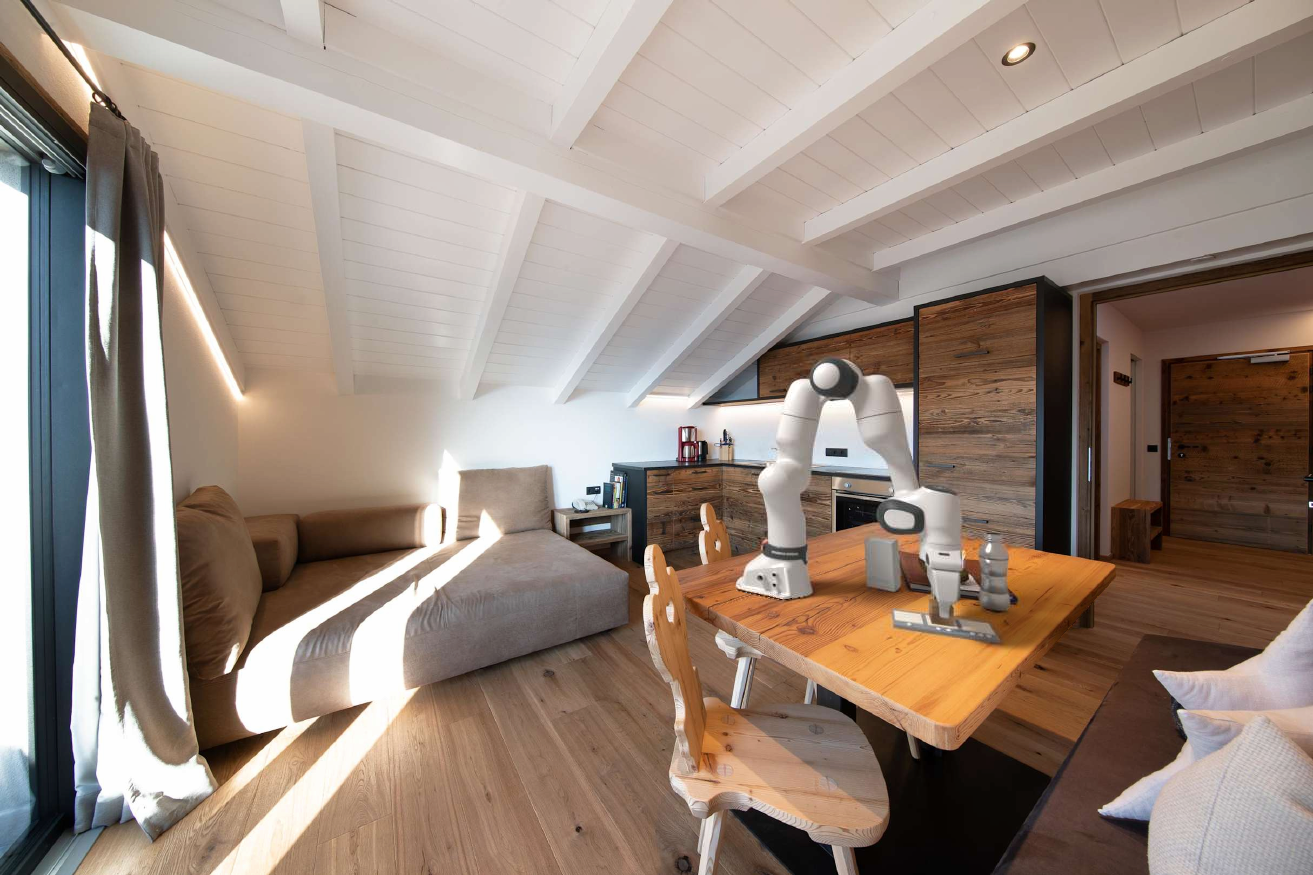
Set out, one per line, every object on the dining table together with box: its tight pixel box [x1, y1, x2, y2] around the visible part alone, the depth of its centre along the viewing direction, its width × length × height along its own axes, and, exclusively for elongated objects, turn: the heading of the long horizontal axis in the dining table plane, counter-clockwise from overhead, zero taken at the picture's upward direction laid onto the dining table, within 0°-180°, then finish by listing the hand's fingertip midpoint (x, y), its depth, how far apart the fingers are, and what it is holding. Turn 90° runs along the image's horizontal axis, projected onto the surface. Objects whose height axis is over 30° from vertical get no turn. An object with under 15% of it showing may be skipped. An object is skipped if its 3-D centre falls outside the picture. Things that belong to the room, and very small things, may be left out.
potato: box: [917, 556, 970, 584], centre depth 138 cm, size 8×13×8 cm, turn 33°
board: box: [891, 608, 1002, 645], centre depth 106 cm, size 21×10×1 cm, turn 64°
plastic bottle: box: [977, 531, 1011, 612], centre depth 115 cm, size 6×7×20 cm
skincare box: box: [863, 535, 902, 593], centre depth 133 cm, size 8×6×15 cm
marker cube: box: [928, 598, 955, 627], centre depth 107 cm, size 4×4×4 cm
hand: (940, 608), depth 107 cm, fingers open, 8 cm apart
